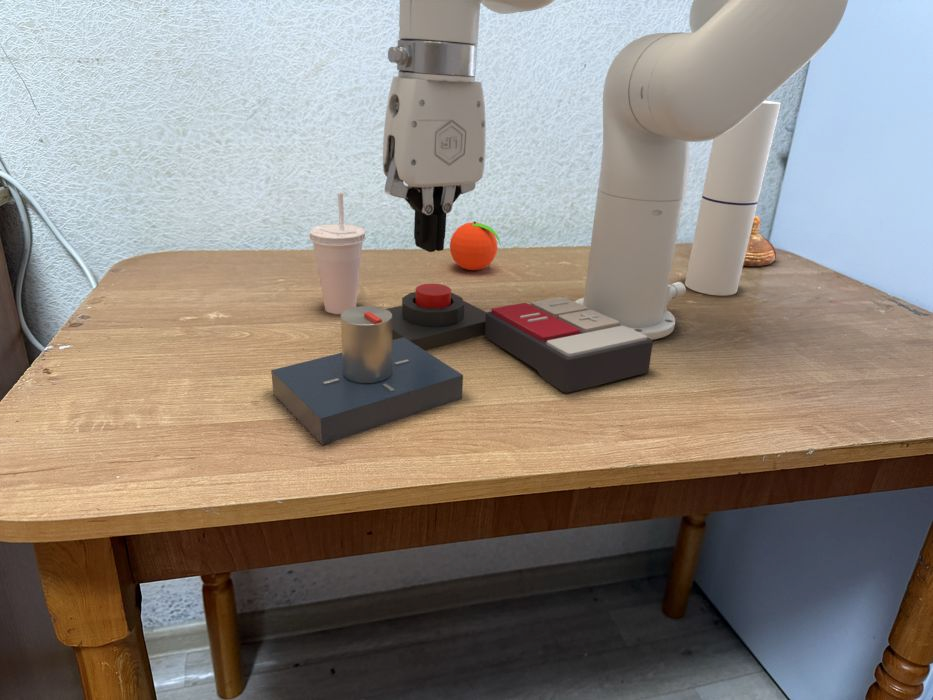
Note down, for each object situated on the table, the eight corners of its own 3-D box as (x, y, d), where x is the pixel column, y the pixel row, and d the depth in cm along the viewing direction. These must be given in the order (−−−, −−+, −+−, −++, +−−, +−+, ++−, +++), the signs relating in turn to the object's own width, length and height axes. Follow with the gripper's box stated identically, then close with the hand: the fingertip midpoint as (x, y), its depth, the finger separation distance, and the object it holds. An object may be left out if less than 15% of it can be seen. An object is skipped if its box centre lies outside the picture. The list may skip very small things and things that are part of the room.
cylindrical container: (682, 290, 91) (720, 100, 80) (686, 276, 97) (722, 98, 86) (736, 298, 88) (782, 104, 78) (737, 283, 94) (779, 101, 84)
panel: (404, 359, 66) (404, 335, 65) (462, 399, 59) (463, 373, 58) (273, 394, 59) (270, 368, 57) (322, 445, 51) (320, 416, 50)
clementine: (510, 270, 96) (514, 222, 93) (486, 281, 90) (489, 231, 87) (465, 259, 99) (467, 213, 96) (439, 270, 94) (441, 221, 91)
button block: (451, 307, 81) (452, 280, 79) (497, 331, 74) (499, 303, 73) (366, 326, 74) (366, 297, 72) (409, 355, 67) (409, 324, 66)
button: (437, 295, 75) (437, 281, 74) (457, 306, 72) (458, 291, 72) (408, 301, 73) (408, 286, 72) (428, 312, 70) (428, 297, 69)
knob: (334, 368, 58) (331, 308, 56) (376, 357, 61) (375, 299, 58) (357, 387, 55) (356, 325, 53) (401, 375, 58) (401, 315, 55)
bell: (695, 244, 114) (703, 203, 111) (766, 251, 112) (777, 209, 109) (703, 263, 103) (713, 218, 100) (782, 270, 102) (794, 225, 98)
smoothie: (356, 321, 75) (352, 200, 69) (304, 315, 76) (296, 195, 70) (374, 302, 81) (372, 189, 75) (326, 297, 82) (320, 185, 76)
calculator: (563, 292, 76) (656, 333, 64) (561, 327, 78) (650, 372, 66) (484, 305, 71) (568, 352, 59) (483, 342, 73) (564, 394, 61)
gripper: (391, 61, 55) (387, 266, 63) (520, 69, 64) (503, 249, 71) (349, 57, 61) (350, 247, 68) (474, 65, 69) (463, 233, 77)
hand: (429, 247), depth 70 cm, fingers closed
